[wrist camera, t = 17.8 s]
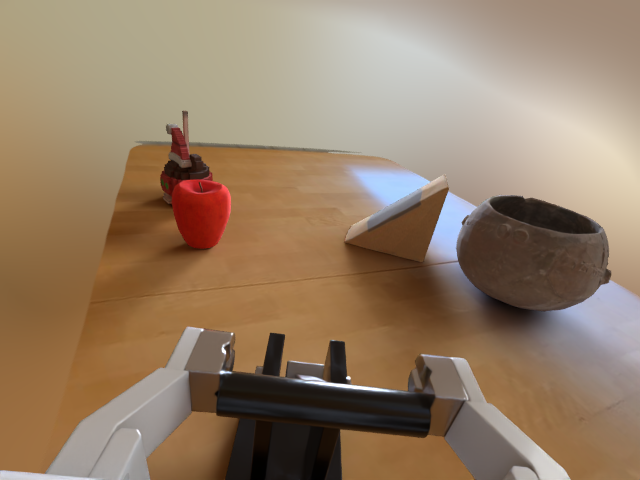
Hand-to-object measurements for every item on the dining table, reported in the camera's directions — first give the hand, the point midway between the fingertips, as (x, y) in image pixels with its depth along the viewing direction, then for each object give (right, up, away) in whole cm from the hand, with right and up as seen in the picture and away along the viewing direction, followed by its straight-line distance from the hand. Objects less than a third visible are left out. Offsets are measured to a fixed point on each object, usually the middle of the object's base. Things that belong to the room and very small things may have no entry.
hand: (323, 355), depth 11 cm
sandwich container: (+13, +3, +56) cm, 57 cm away
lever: (-1, -4, +4) cm, 6 cm away
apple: (-20, +3, +45) cm, 50 cm away
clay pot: (+32, -5, +47) cm, 57 cm away
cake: (-28, +12, +59) cm, 66 cm away
